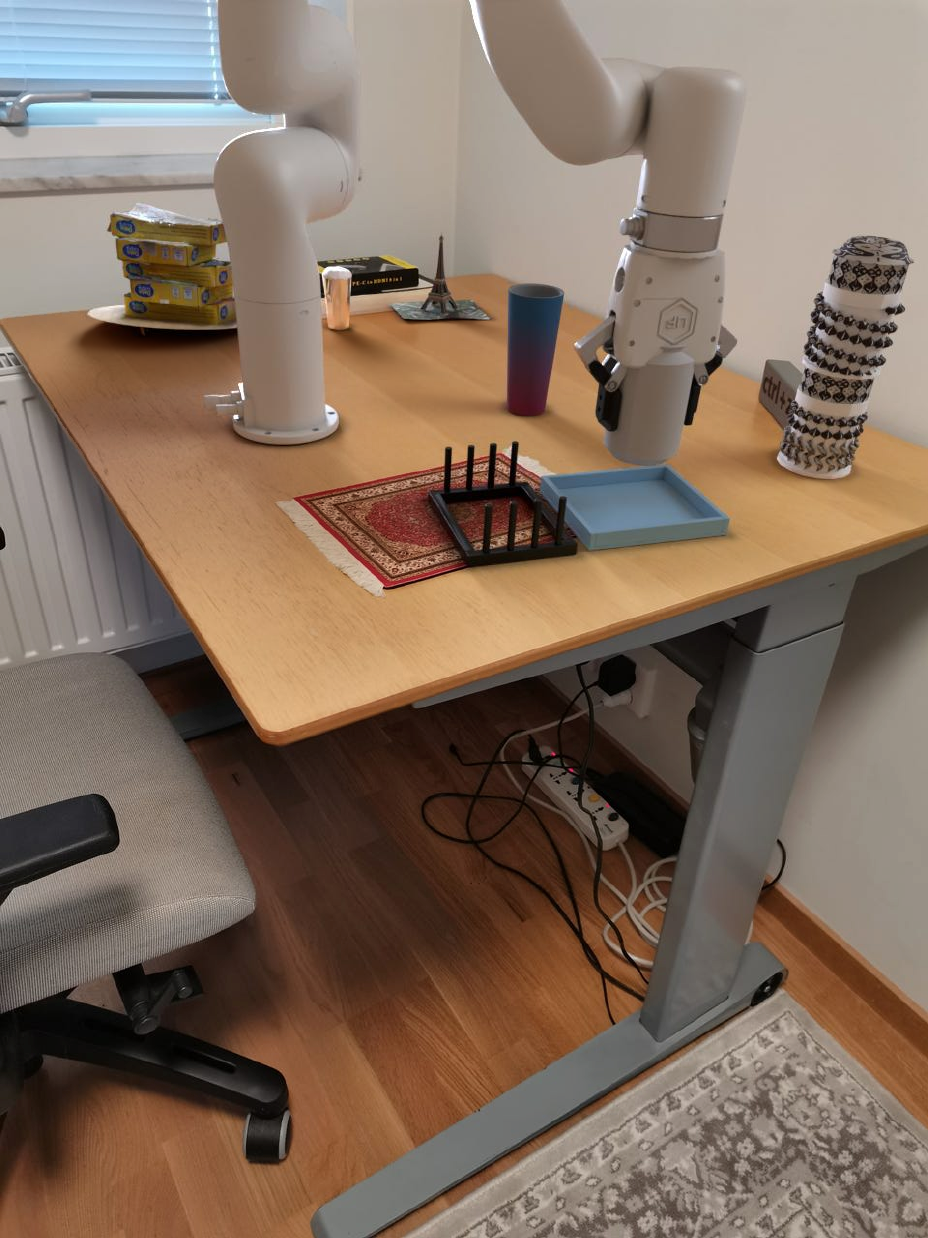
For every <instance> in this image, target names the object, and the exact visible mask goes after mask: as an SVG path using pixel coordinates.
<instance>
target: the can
mask: <svg viewBox="0 0 928 1238" xmlns="http://www.w3.org/2000/svg"><path fill="white" fill-rule="evenodd" d="M685 347H686V345H668V346H661V347H660V348H661V349H663V353H661V354H659V355H657V356H655V357H653V358H652V359H651V360H649V361H648V362H647V363H646V365H645V367H642V368H639V369H632V368H627V374H626V376H625V377H624V379H623V380H622V382H621V383H620V385H619V386H618V390H619V391H621V393H622V399H621V406H620V413H619V419H618V426H617V430H615V431H613V432H609V431H608V430H607V429H606V428H604V432H603V433H604V434H603V446H604V447H605V448H606V449H607V450H608V451H609V453H610V455H611V456H612V457H613V458H615V459H616V460H618V461H620V462H623V463H626V464H629V465H634V466H639V467H645V466H656V465H664V464H666V462H668V461H669V460H670V459H672V458H673V457H675V456H677V454H678V453H679V451H680V446H681V440H682V435H683V430H684V426H685V425H684V420H685V415H686V410H687V405H688V400H689V394H690V389H691V384H692V379H693V374H694V369H695V365H694V359H693V358H691V357H690V356H688V355H687V354H685V353H684V352H681V351H682V348H685ZM617 363H618V362H617V361H616V363H615V366H616V364H617Z"/></svg>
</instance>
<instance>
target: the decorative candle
mask: <svg viewBox="0 0 928 1238" xmlns="http://www.w3.org/2000/svg"><path fill="white" fill-rule="evenodd" d="M831 253H832V254H833V259H832V263H831V267H830V270H829V274H828V278H826V279H825V282H824V286H823V290H822V291H820V292H818V293H817V294H816V296H815V297H814V299H813V303H814V307H815V308H814V309H813V310H812V311H811V312H810V317H811V318H810V321H811V323H813V325H811V326H810V327H809V329H808V331H806V336H807V337H808V338H807V343H804V346H803V349H804V350H803V353H804V355H803V357H802V360H801V364H803V366H804V370H803V374H802V377H801V382H800V383H799V385H798V387H797V390H796V394H795V398H794V399H792V401H791V402H790V406H789V408H790V410H791V412H790V413H788V414H787V419H786V422H787V423H788V425H786V426H785V427H784V428H783V431H782V437H783V439H782V440H781V441H780V443H779V451H778V455H777V457H776V460H777V461H778V463H779V464H780V466H782V467H783V468H785V469H786V470H787V471H790V472H792V473H795V474H798V475H800V476H804V477H809V478H813V479H821V480H822V479H823V480H834V479H841V478H843V479H844V478H845V477H846V476H848V475H850V473H851V469H852V464H853V461H855V460H856V456H855V453H856V452H857V449H858V448H859V447H860V442H859V441H860V439H859V438H858V437H860V436H861V434H863V433H864V430H865V429H864V426H863V424H864V423H865V422H866V421H867V420H868V419H869V418H868V417H869V416H868V411H867V409H868V406H869V403H870V400H871V396H870V393H871V391H872V388H873V385H874V380H875V378H878V377H880V376H881V373H882V366H884V365H885V364H886V362H887V359H886V358H885V356H883V354H882V351H883V350H885V349H886V348H887V349H888V348H889V347H892V346H893V345H894V341H893V340H892V338H890V335H892V334H894V333H896V332H897V331H898V329H899V326H898V325H897V323H895V321H894V320H893V321H892V318H893V316H898V315H900V314H903V313H905V311H906V308H905V306H904V305H903V304H902V302H901V299H902V295H903V292H904V289H903V286H904V283H905V280H906V277H907V273H908V269H909V267H910V265H912V264H915V259H913V258H912V257H910V256H909V252H908V248H907V246H906V244H904V243H903V242H902V241H900V240H897V239H893V238H888V237H885V236H876V235H875V236H874V235H856V236H851V237H849V238H847V239H846V240H845V241H844V242H843V244H842V245H841V246H840V247H839V248H835V249H833V250H832V252H831Z"/></svg>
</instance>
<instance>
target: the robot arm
mask: <svg viewBox="0 0 928 1238" xmlns="http://www.w3.org/2000/svg"><path fill="white" fill-rule="evenodd" d="M469 3H470V6H471V11H472V17H473V21H474V25H475V28H476V30H477V33H478V36H479V39H480V42H481V43H480V44H481V45H482V48H483V51H484V54H485V57H486V59H487V62H488V64H489V66H490V68H491V70H492V72H493V74H494V76H495V78H496V80H497V82H498V83H499V85H500V86H501V88H502V89H503V91H504V93H505V94H506V96H507V98H509V100H510V101H511V103H512V105H513V106H514V107H515V109H516V111H517V112H518V114H519V115H520V117H521V118H522V119H523V121H524V123H525V124H526V125H527V127H528V128H529V130H530V131H531V132H532V134H533V135H534V137H535V138H536V139H537V140H538V142H540V144H541V145H542V146H543V148H545V150H547V151H548V152H549V153H550V154H551V155H553V157H555V158H557V159H558V160H560V161H562V162H563V163H566V164H569V165H572V166H579V167H580V166H588V165H589V166H591V165H595V164H599V163H601V162H604V161H607V160H613V159H618V158H623V157H626V156H642V160H641V167H640V168H641V169H640V175H639V181H638V182H639V183H638V190H637V197H636V202H635V203H636V204H635V205H636V206H635V207H633V212H632V216H630V217H629V218H622V219H621V221H620V224H619V233H620V235H621V236H628V237H629V240H630V244H625V245H624V247H623V250H622V252H621V255H620V257H619V260H618V263H617V266H616V270H615V273H614V277H613V280H612V284H611V288H610V292H609V296H608V301H607V306H606V310H605V316H604V320H603V321H602V322H600V323H599V324H598V325H597V326H596V327H594V328H593V329H591V330H590V331H589V332H588V333H587V334H586V335H584V336H583V337H581V338H580V339H579V340H578V341H576V343H574V346H573V347H574V351H575V353H576V354H577V356H578V357H579V359H580V361H581V362H582V363H583V366H584V368H585V369H586V370H587V372H588V373H589V374H590V375H591V376H592V377H593V379H594V381H595V382H597V383H598V388H597V389H598V390H597V397H596V404H595V411H594V413H595V414H594V415H595V418H596V419H597V422H598V424H599V425H601V426H602V428H603V429H605V428H606V429H607V430H608V431H609V432H613V431H615V430H617V426H618V419H619V413H620V406H621V399H622V393H621V391H619V390H618V386H619V385H620V383H621V382H622V380H623V379H624V377H625V376H626V374H627V368H632V369H639V368H642V367H645V365H646V363H647V362H648V361H649V360H651V359H652V358H653V357H655V356H657V355H659V354H661V353H663V349H661V348H660V347H661V346H668V345H686V347H685V348H682V351H681V352H684V353H685V354H687V355H688V356H690V357H691V358H693V359H694V365H695V369H694V374H693V379H692V384H691V389H690V394H689V400H688V405H687V410H686V415H685V420H684V426H686V427H687V426H692V425H693V422H694V417H695V414H696V412H697V410H698V404H699V400H700V397H701V396H700V395H701V389H702V387H704V386H705V385H707V384H708V382H709V379H710V376H711V375H713V374H714V372H715V371H717V370H718V369H719V368H720V367H721V365H722V364H723V362H724V361H723V360H724V359H726V358H727V356H728V355H729V354H730V353H731V352H732V351H733V349H734V348H735V347H736V346H737V344H738V339H737V338H736V337H735V336H734V334H732V333H731V331H730V330H728V328H726V327H725V325H723V323H722V321H723V312H724V305H725V304H724V302H725V293H726V252H725V251H724V250H722V249H720V248H718V246H719V241H720V236H721V231H722V225H723V221H724V215H725V210H726V205H727V199H728V194H729V189H730V184H731V178H732V173H733V167H734V162H735V156H736V152H737V146H738V141H739V136H740V131H741V126H742V121H743V115H744V110H745V105H746V98H747V84H746V81H745V78H744V77H743V76H742V75H741V74H740V73H738V72H736V71H734V70H730V69H723V68H713V67H701V66H672V67H664V66H659V65H655V64H651V63H648V62H644V61H639V60H636V59H630V58H624V57H623V58H621V57H600V56H599V54H598V53H597V51H596V50H595V48H594V47H593V46H592V44H591V43H590V40H588V38H587V37H586V35H585V33H584V32H583V31H582V28H581V27H580V26H579V24H578V22H577V21H576V20H575V18H574V16H573V15H572V13H571V11H570V9H569V8H568V6H567V4H566V2H565V1H564V0H469ZM216 11H217V28H218V42H219V43H218V44H219V58H220V67H221V74H222V80H223V83H224V86H225V90H226V92H227V94H228V96H229V97H230V99H231V100H232V101H233V102H234V104H236V105H237V106H238V107H239V108H241V109H242V110H244V111H246V112H248V113H250V114H254V115H259V116H281V115H283V126H284V127H276V128H268V129H259V130H253V131H251V132H246V133H243V134H241V135H238V136H237V137H235V138H233V139H232V140H230V141H229V142H228V143H227V144H226V145H225V146H224V147H223V148H222V150H221V151H220V152H219V154H218V156H217V159H216V161H215V164H214V169H213V190H214V195H215V200H216V203H217V207H218V211H219V215H220V218H221V221H222V222H223V225H224V229H225V233H226V238H227V242H226V243H227V248H228V255H229V260H230V262H231V271H232V280H233V297H235V308H236V319H237V328H236V329H237V340H238V350H239V351H238V352H239V361H240V372H241V383H240V382H239V383H238V384H237V386H238V390H233V391H232V390H231V391H230V394H207V395H206V394H204V395H203V403H204V404H203V405H204V410H205V413H207V412H208V413H211V412H216V417H217V418H221V417H229V416H232V427H233V430H234V432H236V433H237V434H238V435H239V436H241V437H243V438H244V439H247V440H249V441H253V442H257V443H260V444H268V445H278V446H279V445H282V446H283V445H287V446H288V445H289V446H290V445H301V444H307V443H312V442H316V441H318V440H322V439H325V438H326V437H329V436H331V435H332V434H333V433H334V432H336V430H338V427H339V425H340V421H339V420H340V418H339V414H338V412H337V410H336V409H334V408H333V407H332V406H331V405H328V404H326V390H325V389H326V387H325V369H324V368H325V365H324V364H325V363H324V342H323V339H324V338H323V317H322V293H321V276H320V270H319V269H320V268H319V263H318V260H317V257H316V253H315V250H314V248H313V246H312V243H311V240H310V237H309V235H308V231H307V227H306V226H307V225H310V224H314V223H317V222H320V221H321V222H322V221H324V220H327V219H331V218H333V217H335V216H337V215H339V214H341V213H342V212H343V211H345V210H346V209H347V208H348V207H349V205H350V204H351V202H352V201H353V200H354V197H355V194H356V191H357V188H358V183H359V177H360V176H359V175H360V159H361V158H360V156H361V154H360V151H361V150H360V148H361V68H360V60H359V56H358V51H357V48H356V45H355V41H354V40H353V37H352V35H351V33H350V31H349V29H348V27H347V26H346V24H345V23H344V22H343V21H342V20H341V18H339V16H337V15H336V13H333V12H332V11H330V9H327V8H325V7H322V6H321V5H316V4H309V0H216ZM600 347H602V350H603V352H605V353H606V354H607V355H606V356H605V359H604V360H603V361H602V362H601V361H600V358H599V357H598V356H597V351H598V349H600ZM616 361H617V362H618V363H617V364H616V366H615V363H616Z"/></svg>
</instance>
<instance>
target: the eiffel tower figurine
mask: <svg viewBox="0 0 928 1238" xmlns="http://www.w3.org/2000/svg"><path fill="white" fill-rule="evenodd" d="M442 233H443V230H442V228H441V230H440V236H439V238H438V241H439V243H438V244H439V245H438V255H437V265H436V273H435V278H433V279H434V281H433V285H432V288H431V290H430V292H428V294H427V297H426V298H425V300H422V301H405V302H393V303H389V305H390V306H391V307H392V308H393V310H395V311H396V312H397V313H398V315H399V316H401V318H402V319H406V320H407V319H409V320H441V319H443V320H448V319H469V320H470V319H474V320H491V318H490V317H489V316H488V315H487V314H486V313H485V311H483V310H482V308H480V307H479V306H478V304H477V303H476V302H475V301H474V300H473V299H457V300H455V299H453V297H452V292H451V291H449V289H448V284H447V281H446V280H447V278H446V275H445V265H444V236H443V234H442Z"/></svg>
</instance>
